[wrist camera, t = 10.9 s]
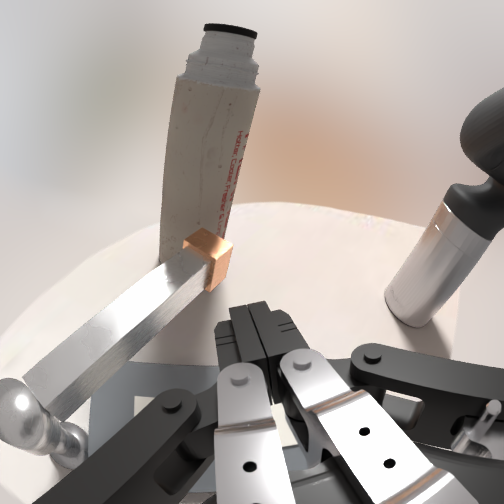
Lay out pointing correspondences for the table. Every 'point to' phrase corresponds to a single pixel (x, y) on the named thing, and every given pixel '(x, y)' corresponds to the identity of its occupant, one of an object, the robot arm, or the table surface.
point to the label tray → (152, 384)
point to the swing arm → (106, 344)
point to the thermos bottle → (207, 135)
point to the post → (71, 446)
